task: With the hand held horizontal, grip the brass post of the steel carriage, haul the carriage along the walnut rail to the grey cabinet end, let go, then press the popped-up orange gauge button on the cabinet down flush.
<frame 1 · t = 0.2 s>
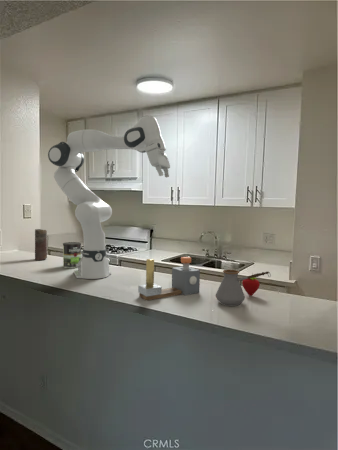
hand: (164, 176, 149), 52 cm above the countertop, tool tilted 20°, fingers open, 8 cm apart
coffee can: (72, 266, 186), on the countertop
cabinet: (185, 290, 140), on the countertop
coffee pot: (241, 306, 121), on the countertop
carriage: (150, 276, 129), point 9 cm above the countertop, slide at 0.0 cm
rail: (160, 295, 132), on the countertop
candle: (41, 259, 205), on the countertop
strawberry: (250, 296, 134), on the countertop
gauge button: (185, 270, 139), point 10 cm above the countertop, slide at 0.0 cm
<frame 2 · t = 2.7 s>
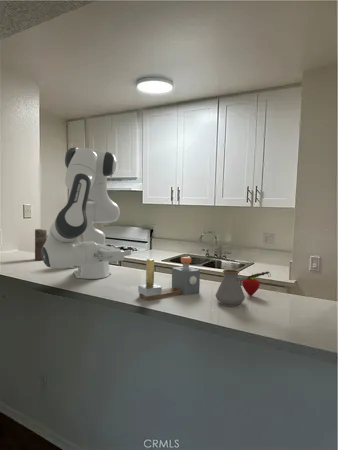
hand: (124, 250, 121), 20 cm above the countertop, tool horizontal, fingers open, 8 cm apart
nothing on the countertop moved.
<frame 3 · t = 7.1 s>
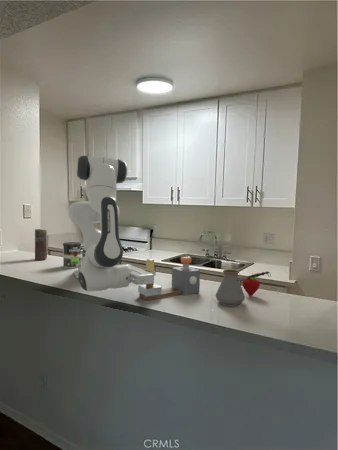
hand: (151, 272, 129), 11 cm above the countertop, tool horizontal, fingers closed on carriage, 3 cm apart
carriage: (150, 276, 129), point 9 cm above the countertop, slide at 0.0 cm, touching gripper
everything else where it was.
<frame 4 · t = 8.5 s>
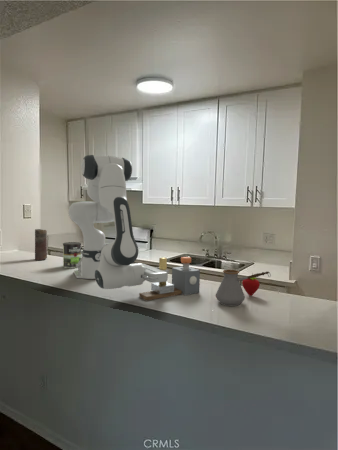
hand: (164, 270, 133), 11 cm above the countertop, tool horizontal, fingers closed on carriage, 3 cm apart
carriage: (162, 274, 132), point 9 cm above the countertop, slide at 6.3 cm, touching gripper
everything else where it was.
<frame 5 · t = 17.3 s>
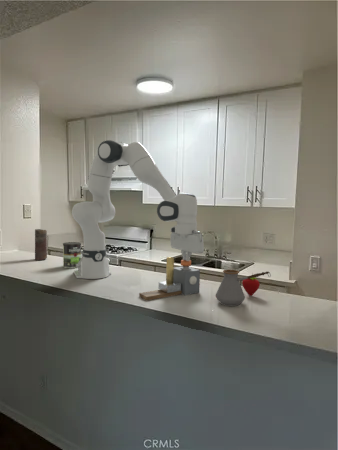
hand: (186, 260, 139), 14 cm above the countertop, tool pointing down, fingers closed, pressing on gauge button
carriage: (169, 273, 134), point 9 cm above the countertop, slide at 10.0 cm
gauge button: (185, 272, 139), point 8 cm above the countertop, slide at 1.3 cm, touching gripper
everything else where it was.
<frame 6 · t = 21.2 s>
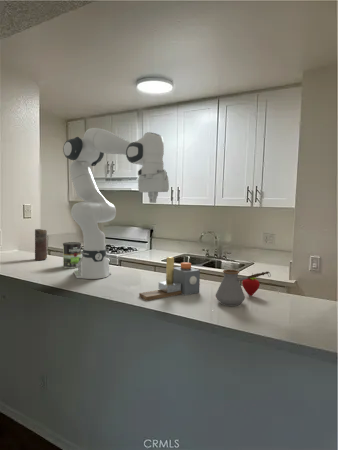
hand: (152, 202, 136), 39 cm above the countertop, tool pointing down, fingers closed
gauge button: (185, 275, 139), point 7 cm above the countertop, slide at 2.5 cm
everything else where it was.
at the end: carriage slide at 10.0 cm; gauge button slide at 2.5 cm; the gripper is holding nothing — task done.
